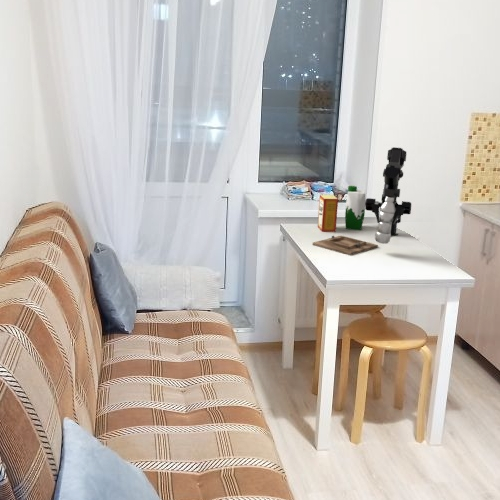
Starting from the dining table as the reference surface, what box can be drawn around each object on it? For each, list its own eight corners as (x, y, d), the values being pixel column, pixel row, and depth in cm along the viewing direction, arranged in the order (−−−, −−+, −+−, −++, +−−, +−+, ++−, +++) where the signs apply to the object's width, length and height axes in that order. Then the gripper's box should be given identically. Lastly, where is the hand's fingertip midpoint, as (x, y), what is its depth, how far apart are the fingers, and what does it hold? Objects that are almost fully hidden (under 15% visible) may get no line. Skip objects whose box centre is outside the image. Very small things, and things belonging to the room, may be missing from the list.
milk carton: (344, 224, 322) (348, 184, 317) (363, 226, 321) (367, 186, 315) (343, 229, 314) (347, 187, 309) (362, 230, 313) (366, 189, 307)
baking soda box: (317, 226, 317) (319, 194, 312) (330, 226, 318) (333, 194, 313) (322, 231, 308) (324, 198, 303) (335, 231, 309) (338, 198, 304)
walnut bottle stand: (340, 237, 299) (341, 231, 298) (377, 247, 285) (378, 240, 285) (312, 244, 285) (313, 238, 284) (350, 255, 272) (350, 248, 271)
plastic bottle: (388, 241, 279) (397, 195, 272) (390, 246, 272) (398, 199, 266) (373, 239, 279) (381, 193, 273) (374, 244, 273) (382, 197, 266)
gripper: (367, 179, 274) (362, 210, 267) (413, 182, 269) (409, 215, 262) (368, 194, 284) (363, 224, 277) (412, 198, 279) (408, 229, 272)
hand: (385, 223), depth 272 cm, fingers closed on plastic bottle, 6 cm apart
